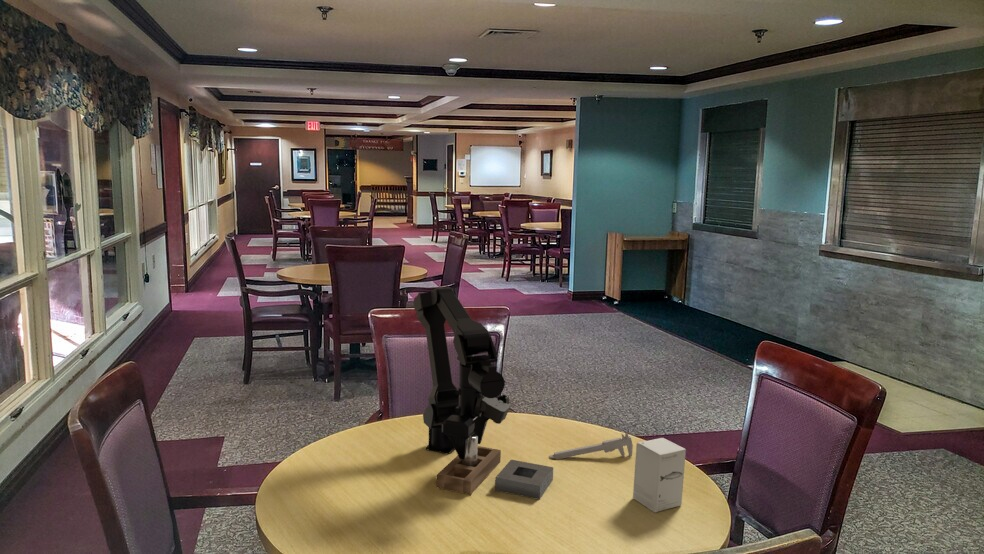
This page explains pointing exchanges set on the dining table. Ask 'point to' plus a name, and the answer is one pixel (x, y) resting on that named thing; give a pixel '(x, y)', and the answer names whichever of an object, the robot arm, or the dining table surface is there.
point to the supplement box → (659, 474)
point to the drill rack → (468, 471)
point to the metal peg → (471, 451)
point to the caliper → (598, 448)
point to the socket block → (524, 479)
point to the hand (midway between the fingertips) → (470, 451)
